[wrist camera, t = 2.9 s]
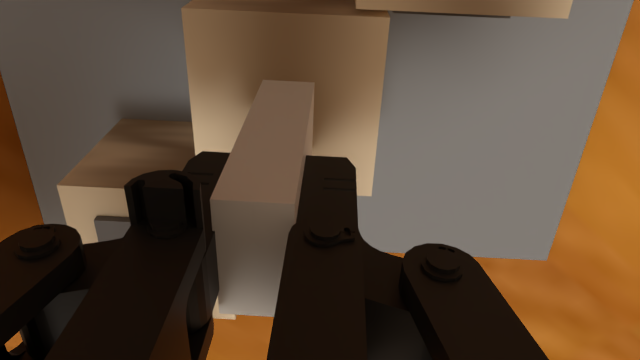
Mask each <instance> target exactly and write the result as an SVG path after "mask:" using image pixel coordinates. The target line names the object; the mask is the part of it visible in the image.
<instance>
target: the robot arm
mask: <svg viewBox="0 0 640 360" xmlns="http://www.w3.org/2000/svg"><path fill="white" fill-rule="evenodd" d="M314 84H315V82H297V81H277V80H263V81H262V83H261V85H260V88H259V90H258V92H257V94H256V97H255V99H254V101H253V103H252V106H251V108H250V110H249V112H248V115H247V117H246V119H245V121H244V124H243V126H242V128H241V130H240V133H239V135H238V137H237V139H236V142H235V144H234V146H233V148H232V151H231V153H227V152H209V151H202V152H201V153H199V154H197V155H196V156H194V157H193V158H191V159H190V160H188V162H187V164H186V165H185V167H184V169H183V170H182V171H178V170H157V171H153V172H148V173H144V174H142V175H139V176H137V177H135V178H133V179H131V180H130V181H129V182H128V183H126V184H125V185H124V191H125V196H126V202H127V207H128V213H129V218H130V224H131V226H130V227H129V229H128V230H127V232H126V233H125V235H124V237H123V238H119V239H114V240H109V241H102V242H95V243H88V244H83V243H82V239H81V235H80V234H79V233H78V231H77V230H76V229H75V228H72V227H70V226H68V225H63V224H44V225H36V226H33V227H30V228H27V229H24V230H21V231H19V232H17V233H15V234H13V235H11V236H10V237H8V238H6V239H5V240H3V241H2V242H0V360H206V357H207V354H208V350H209V347H210V344H211V340H212V337H213V330H214V323H213V309H214V306H215V303H216V299H217V296H218V303H219V313H220V314H237V315H253V316H270V317H274V320H273V326H272V332H271V337H270V343H269V349H268V355H267V360H549V359H548V358H547V356H546V355H545V354H544V352H543V351H542V350H541V348H540V347H539V345H538V344H537V343H536V341H535V340H534V339H533V337H532V336H531V334H530V333H529V332H528V330H527V329H526V328H525V326H524V325H523V323H522V322H521V321H520V319H519V318H518V317H517V315H516V314H515V312H514V311H513V310H512V308H511V307H510V306H509V304H508V303H507V301H506V300H505V299H504V297H503V296H502V295H501V293H500V292H499V290H498V289H497V288H496V286H495V285H494V284H493V282H492V281H491V279H490V278H489V277H488V275H487V274H486V273H485V271H484V270H483V268H482V267H481V266H480V264H479V263H478V262H477V261H476V260H475V259H474V258H473V257H472V256H471V255H470V254H468V253H466V252H464V251H462V250H460V249H458V248H456V247H453V246H449V245H445V244H437V243H426V244H422V245H418V246H414V247H413V248H411V249H410V250H409V251H407V252H406V253H405V256H404V258H401V257H397V256H394V255H390V254H387V253H384V252H382V251H379V250H377V249H376V248H374V247H372V246H370V245H369V244H368V243H367V242H366V241H365V240H364V239H363V238H362V236H361V234H360V231H359V228H358V209H357V184H356V168H355V166H354V165H353V164H352V163H351V162H350V160H349V159H348V158H347V157H330V156H312V143H313V113H314ZM18 331H20V334H21V337H22V340H23V342H22V343H21V344H20V345H19V346H17V347H16V348H14V349H13V350H11V351H10V352H8V351H7V350H6V347H5V345H4V344H5V343H6V342H7V341H9V340H10V339H11V338H12V337H13V336H14V335H15V334H16V333H17V332H18Z"/></svg>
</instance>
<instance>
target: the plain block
mask: <svg viewBox="0 0 640 360" xmlns="http://www.w3.org/2000/svg"><path fill="white" fill-rule="evenodd" d="M181 12H182V22H183V33H184V43H185V53H186V64H187V74H188V84H189V95H190V105H191V115H192V126H193V136H194V147H195V156H196V155H197V154H199V153H201V152H202V151H209V152H227V153H231V151H232V148H233V146H234V144H235V142H236V139H237V137H238V135H239V133H240V130H241V128H242V126H243V124H244V121H245V119H246V117H247V115H248V112H249V110H250V108H251V106H252V103H253V101H254V99H255V97H256V94H257V92H258V90H259V88H260V85H261V83H262V81H263V80H277V81H297V82H315V84H314V113H313V143H312V156H330V157H347V158H348V159H349V160H350V162H351V163H352V164H353V165H354V166H355V168H356V184H357V196H372V186H373V177H374V167H375V158H376V148H377V139H378V129H379V120H380V110H381V100H382V91H383V81H384V72H385V62H386V53H387V43H388V34H389V24H390V16H389V14H388V11H387V10H368V9H356V8H355V0H192V1H190V2H189V3H188V4H186V5H185V6H183V7H182V8H181Z"/></svg>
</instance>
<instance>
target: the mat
mask: <svg viewBox="0 0 640 360" xmlns="http://www.w3.org/2000/svg"><path fill="white" fill-rule="evenodd" d="M190 1H192V0H0V72H1V75H2V78H3V82H4V85H5V89H6V92H7V96H8V99H9V103H10V106H11V110H12V113H13V117H14V120H15V124H16V127H17V131H18V134H19V138H20V141H21V145H22V148H23V152H24V155H25V159H26V162H27V166H28V169H29V172H30V176H31V179H32V183H33V186H34V190H35V193H36V197H37V200H38V204H39V207H40V211H41V214H42V218H43V221H44V224H63V225H67V223H66V219H65V215H64V212H63V208H62V204H61V200H60V196H59V192H58V189H57V184H58V183H59V182H60V181H61V180H62V179H63V178H64V177H65V176H66V175H67V174H68V173H69V172H70V171H71V170H72V169H73V168H74V167H75V166H76V165H77V164H78V163H79V162H80V161H81V160H82V159H83V158H84V157H85V156H86V155H87V154H88V153H89V152H90V151H91V150H92V149H93V147H94V146H95V145H96V144H97V143H98V142H99V141H100V140H101V139H102V138H103V137H104V136H105V135H106V134H107V133H108V132H109V131H110V130H111V129H112V128H113V127H114V126H115V125H116V124H117V123H118V122H119V121H120V120H121V119H141V120H162V121H182V122H192V115H191V105H190V95H189V84H188V74H187V64H186V53H185V43H184V33H183V22H182V12H181V8H182V7H183V6H185V5H186V4H188V3H189V2H190ZM633 1H634V0H573V2H572V6H571V9H570V13H569V17H568V19H563V18H541V17H520V16H511V18H489V17H467V16H446V15H424V14H403V13H393V12H392V11H390V10H387V11H388V14H389V16H390V24H389V34H388V43H387V53H386V62H385V72H384V81H383V91H382V100H381V110H380V120H379V129H378V139H377V148H376V158H375V167H374V177H373V186H372V196H357V209H358V228H359V231H360V234H361V236H362V238H363V239H364V240H365V241H366V242H367V243H368V244H369V245H370V246H372V247H374V248H376V249H377V250H379V251H382V252H393V253H406V252H407V251H409V250H410V249H411V248H413V247H414V246H418V245H422V244H426V243H437V244H445V245H449V246H453V247H456V248H458V249H460V250H462V251H464V252H466V253H468V254H470V255H471V256H472V257H490V258H509V259H528V260H547V258H548V255H549V252H550V249H551V246H552V243H553V240H554V237H555V234H556V231H557V228H558V225H559V222H560V219H561V216H562V213H563V210H564V207H565V204H566V201H567V198H568V195H569V192H570V189H571V186H572V183H573V180H574V177H575V174H576V171H577V168H578V165H579V162H580V159H581V156H582V153H583V150H584V147H585V144H586V141H587V138H588V135H589V132H590V129H591V126H592V123H593V120H594V117H595V114H596V111H597V108H598V105H599V102H600V99H601V96H602V93H603V90H604V87H605V84H606V81H607V78H608V75H609V72H610V69H611V66H612V63H613V60H614V57H615V54H616V51H617V48H618V45H619V42H620V39H621V37H622V34H623V31H624V28H625V25H626V22H627V19H628V16H629V13H630V10H631V7H632V4H633Z"/></svg>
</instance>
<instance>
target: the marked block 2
mask: <svg viewBox="0 0 640 360" xmlns="http://www.w3.org/2000/svg"><path fill="white" fill-rule="evenodd" d="M572 2H573V0H355V8H356V9H368V10H390V11H392V12H393V13H403V14H424V15H446V16H467V17H489V18H511V16H520V17H541V18H563V19H568V17H569V13H570V9H571V6H572Z"/></svg>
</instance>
